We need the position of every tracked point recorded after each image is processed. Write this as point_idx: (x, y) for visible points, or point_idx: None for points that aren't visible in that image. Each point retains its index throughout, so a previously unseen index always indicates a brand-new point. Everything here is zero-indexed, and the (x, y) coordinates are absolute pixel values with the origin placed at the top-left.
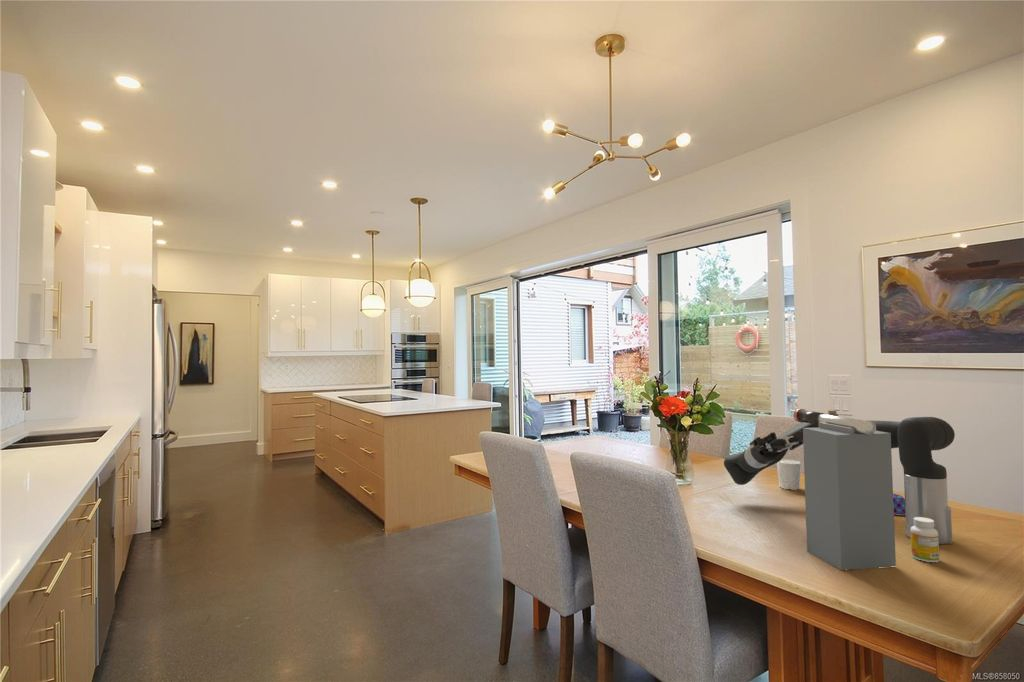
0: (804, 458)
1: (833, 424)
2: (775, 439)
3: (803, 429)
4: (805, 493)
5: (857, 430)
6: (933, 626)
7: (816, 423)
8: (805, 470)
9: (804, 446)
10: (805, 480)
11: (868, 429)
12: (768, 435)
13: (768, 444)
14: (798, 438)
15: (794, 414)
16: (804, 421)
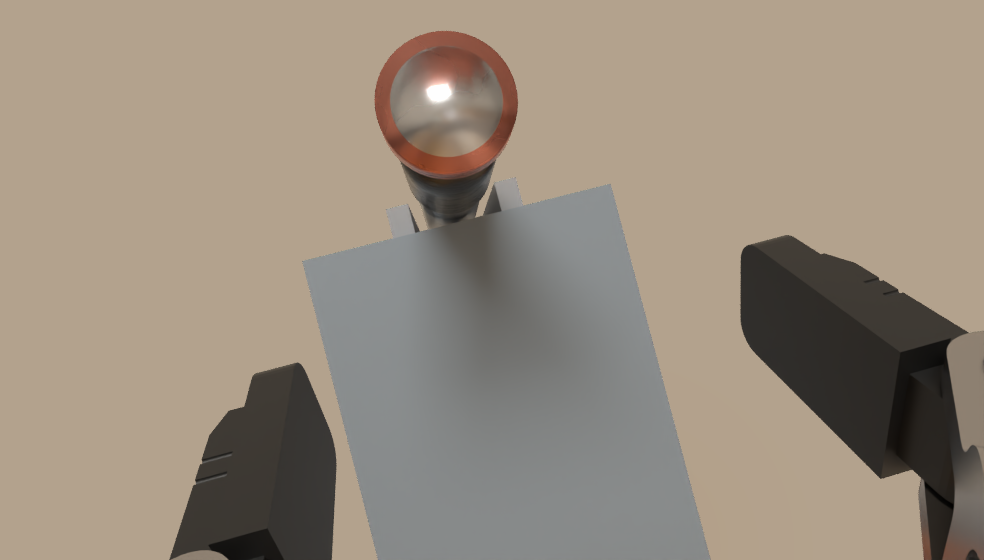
0: (654, 354)
1: (489, 198)
2: (768, 349)
3: (611, 192)
4: (707, 553)
5: None
6: None
7: (486, 189)
8: (670, 420)
9: (635, 286)
10: (686, 477)
11: None
12: (868, 279)
13: (947, 517)
14: (321, 503)
15: (509, 76)
16: (493, 164)
